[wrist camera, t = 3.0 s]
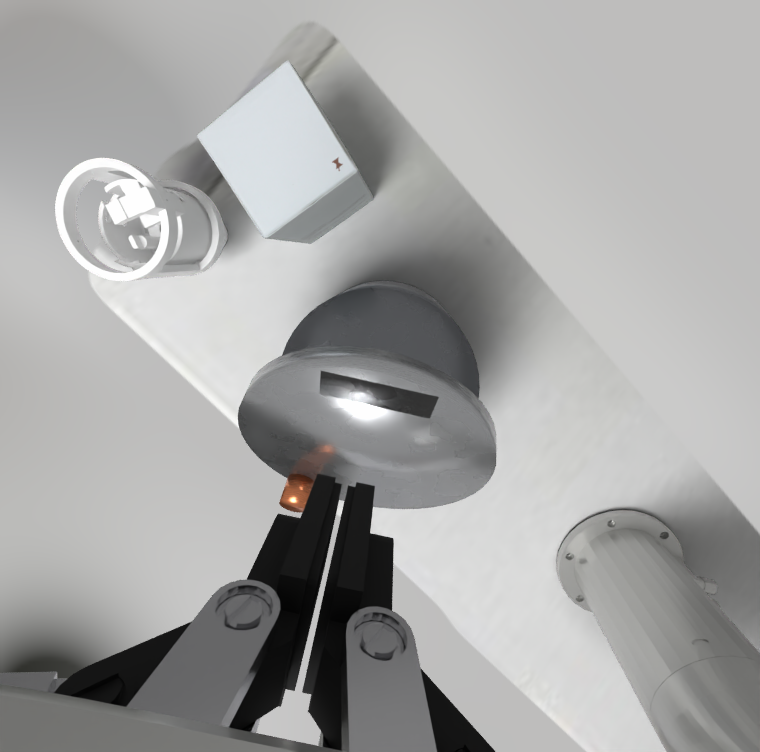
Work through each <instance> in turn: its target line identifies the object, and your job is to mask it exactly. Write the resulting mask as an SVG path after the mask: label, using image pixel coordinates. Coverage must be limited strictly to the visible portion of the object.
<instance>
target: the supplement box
mask: <svg viewBox="0 0 760 752" xmlns="http://www.w3.org/2000/svg"><path fill="white" fill-rule="evenodd" d="M197 138H198V139H199V140H200V142H201V143H202V145H203V146H204V148H205V149H206V151H207V152H208V154H209V155H210V157H211V158H212V160H213V161H214V163H215V164H216V166H217V167H218V169H219V170H220V172H221V173H222V175H223V176H224V178H225V180H226V181H227V183H228V184H229V186H230V187H231V189H232V190H233V192H234V193H235V195H236V197H237V198H238V200H239V201H240V203H241V204H242V206H243V207H244V209H245V210H246V212H247V214H248V215H249V217H250V218H251V220H252V221H253V223H254V224H255V226H256V227H257V229H258V231H259V232H260V234H261V235H262V237H263V238H265V239H275V240H284V241H292V242H300V243H308V244H311V243H313V242H314V241H316V240H317V239H319V238H320V237H322V236H323V235H324V234H326V233H327V232H329V231H330V230H331V229H333V228H334V227H336V226H337V225H338V224H340V223H341V222H343V221H344V220H345V219H347V218H348V217H350V216H351V215H352V214H354V213H355V212H356V211H358V210H359V209H361V208H362V207H363V206H365V205H366V204H368V203H369V202H370V201H372V200H373V199H374V197H373V195H372V193H371V191H370V190H369V188H368V186H367V184H366V183H365V181H364V179H363V177H362V175H361V174H360V172H359V170H358V168H357V166H356V164H355V163H354V161H353V159H352V158H351V156H350V154H349V152H348V151H347V149H346V147H345V146H344V144H343V142H342V141H341V139H340V137H339V136H338V134H337V132H336V131H335V129H334V127H333V126H332V124H331V123H330V121H329V120H328V118H327V116H326V115H325V113H324V112H323V110H322V109H321V107H320V106H319V104H318V103H317V101H316V100H315V98H314V97H313V95H312V94H311V92H310V91H309V89H308V88H307V86H306V85H305V83H304V82H303V80H302V79H301V77H300V76H299V74H298V73H297V71H296V70H295V68H294V67H293V66H292V64H291V63H290V62H289V61H288V60H287V61H285V62H284V63H283V64H282V65H280V66H279V67H278V68H277V69H276V70H275V71H273V72H272V73H271V74H270V75H268V76H267V77H266V78H265V79H263V80H262V81H261V82H260V83H259V84H257V85H256V86H255V87H254V88H253V89H251V90H250V91H249V92H248V93H247V94H245V95H244V96H243V97H242V98H241V99H239V100H238V101H237V102H236V103H235V104H233V105H232V106H231V107H230V108H229V109H228V110H227V111H225V112H224V113H223V114H221V115H220V116H219V117H218V118H217V119H215V120H214V121H213V122H212V123H211V124H209V125H208V126H207V127H206V128H205V129H204V130H202V131H201V132H200V133H199V134H197Z"/></svg>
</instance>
